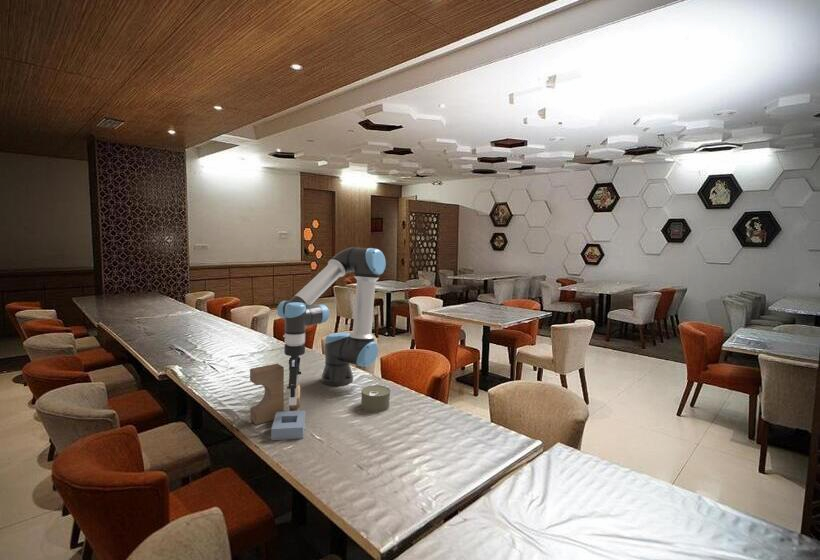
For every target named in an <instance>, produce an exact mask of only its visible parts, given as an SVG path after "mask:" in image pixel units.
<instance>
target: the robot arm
mask: <svg viewBox="0 0 820 560" xmlns="http://www.w3.org/2000/svg"><path fill="white" fill-rule="evenodd" d="M386 262H387V261H386V257H385V255H384V253H383V251H381V250H380V249H378V248H373V247H356V246H352V247H348V248H345V249H343V250H341V251H339V252H338V253H336V254H335V255H334V256H333V257H331V258H330V259H329V260H328V261H327V265H326V266H325V267H324V268H323V269H321V271H320V272H318V274H317V275H315V276H314V277H313V278H311V280H310V281H309V282H308V283H306V285H304V287H303V288H301V289H300V290H299V291H298V292H297V293H296V294H295V295H294V296H293V297H292V298H291V299H289V300H282V301H281V302H279V304H278V305H277V307H276V310H277V315H278V316H279V317H280V318H281V319H284V334H283V335H282V337H283V338H284V347H283V348H284V349H283V350H284V355H286V356H287V357H288V356H289V360H288V371H289V373H288V375H289V376H288V377H289V378H288V386H286V389H287V390H288V406H289V405H296V403H297V386H296V385H300V375H302V371H300V370H301V369H300V363H301V357H300V356H303V355H305V353H306V344H305V343H306V327H309V326H314V325H315V326H316V325H320V324H323V323H326V322H327V321H328V320H329V317H330V310H329V308H328V306H326V305H325V304H323V303H322V304H320V303H319V304H313V303H315V302H316V300H317V299H319V298H320V297H321V296H322V295H323V294H324V293H325V292H326V291H327V290H328V288H330V287H331V286H332V285H333V284H334V283H335V282H336V281H337V280H338V279H339V278H342V277H344V276H345V275H346V274H348V273H353V277H354V279H355V280H356V287H355V302H354V314H353V324H352V332H347V331H346V332H335V333H330V334H327V335H326V336H325V343H324V349H325V350H324V352H325V353H324V359H325V360H324V361H325V362H324V364H325V365H324V367H323V371H322V373H321V377H320V378H321V379H320V381H321V383H322V384H324V385H326V386H331V387H337V386H346V385H349V384H351V383H353V380H354V374H353V372H352V368H351V364H352V365H356V366H359V367H366V368H367V367H370V366H371V365H372V364H374V362H375V361H376V359H377V358H378V356H379V350H380V348H379V345H378V343H377V342H375V336H374V335H373V332H372V329H373V317H374V308H375V307H374V305H375V304H374V303H375V294H376V293H375V292H376V283H377V281H378V280H379V279H380V275H383V273H384V271H385V270H386V266H387V265H386V264H387V263H386Z"/></svg>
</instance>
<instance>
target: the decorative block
mask: <svg viewBox="0 0 820 560" xmlns="http://www.w3.org/2000/svg"><path fill="white" fill-rule="evenodd" d="M284 370H285V367H284V366H282V365H281V364H279V363H272V364H268V365H263V366H257V367H252V368H250V369H249V380H250V382H251V383H253V384H254V385H255V386H262V387H263V388H264V394H263V395H264V396H263V397H262V398H261V400H260V402H258V403H257V404H256V405H254V406H252V407H250V409H249V415H250V418H249V419H250V421H251V422H252V423H253V424H255V425H259V424H261V425H262V424H263V423H264V424H265V423H267V422H268V423H269V422H271V421H274V418H275V415H276V412H280V411H285V409H284V407H285V403H284V401H285V399H284V396H285V393H284V392H285V391H284V390H285V388H284V387H285V386H284V385H285V378H284V376H285V373H284V372H285V371H284Z"/></svg>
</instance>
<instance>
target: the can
mask: <svg viewBox="0 0 820 560" xmlns="http://www.w3.org/2000/svg"><path fill="white" fill-rule="evenodd" d="M360 390H361V391H360V392H361V393H360V394H361V406H360V407H361V409H362V410H363V411H366V412H370V413H381V412H385V411H387V410H389V409H390V398H391V397H390V396H391V395H390V394H391V389H390V388H388V387H386V386H383V385H367V386H365V387H363V388H362V389H360Z"/></svg>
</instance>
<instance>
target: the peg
mask: <svg viewBox="0 0 820 560" xmlns="http://www.w3.org/2000/svg"><path fill="white" fill-rule="evenodd" d="M296 386H297V403H296V405H289V404H288V407H289V411H301V410H300V409H301V408H300V407H301V386H300V384H299V385H296Z"/></svg>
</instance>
